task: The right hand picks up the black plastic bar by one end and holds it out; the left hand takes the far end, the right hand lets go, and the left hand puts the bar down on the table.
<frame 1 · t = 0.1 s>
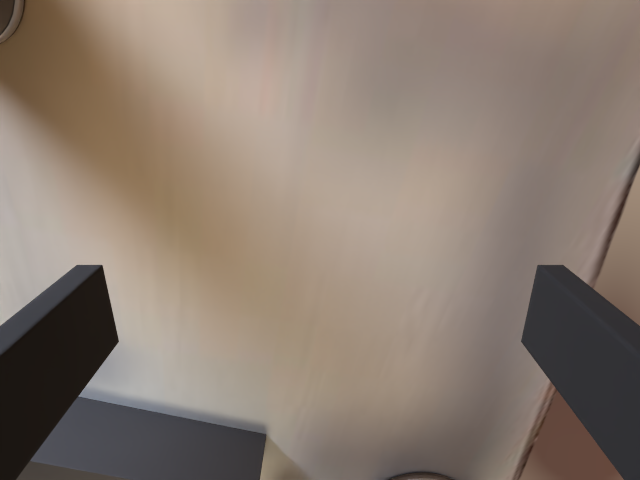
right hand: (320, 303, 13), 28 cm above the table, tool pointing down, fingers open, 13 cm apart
bar: (157, 426, 52), on the table
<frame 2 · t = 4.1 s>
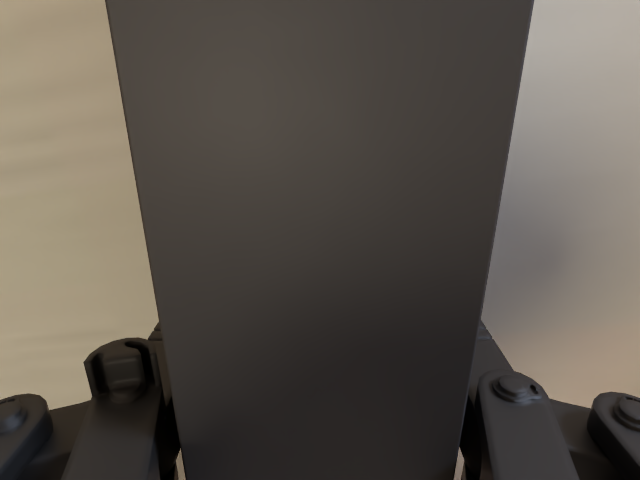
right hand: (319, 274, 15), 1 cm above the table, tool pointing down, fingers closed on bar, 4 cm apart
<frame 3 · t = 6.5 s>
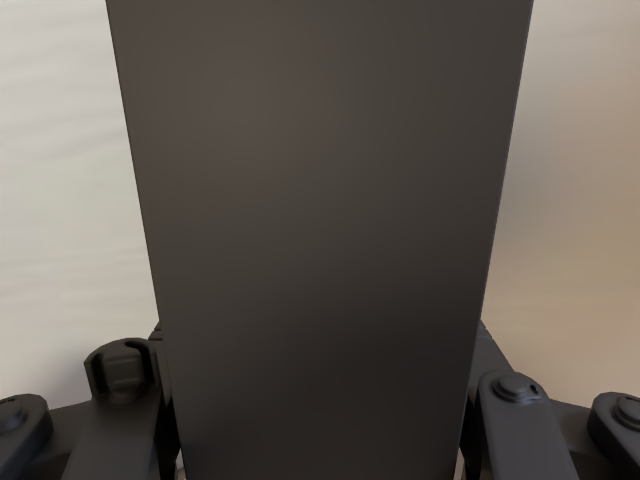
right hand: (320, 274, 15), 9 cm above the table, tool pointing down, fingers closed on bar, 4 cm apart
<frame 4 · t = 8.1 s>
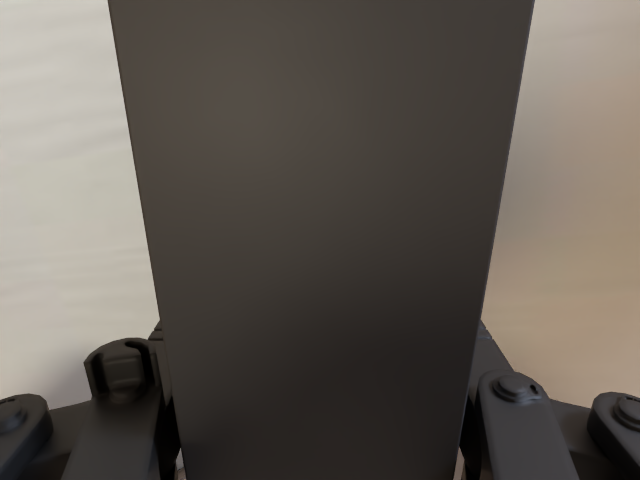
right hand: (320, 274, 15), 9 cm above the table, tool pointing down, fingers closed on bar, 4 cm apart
when the right hand's fingers open (9 cm above the table, at t = 8.9 s): bar stays where it is, held by the left hand.
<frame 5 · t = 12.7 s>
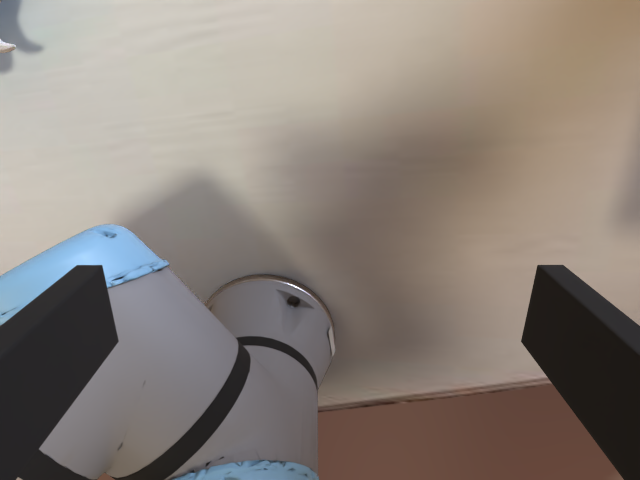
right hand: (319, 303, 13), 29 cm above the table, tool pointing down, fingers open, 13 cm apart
when the left hand's fingers open (6 cm above the table, at t = 17.3 s): bar drops 1 cm, on the table.
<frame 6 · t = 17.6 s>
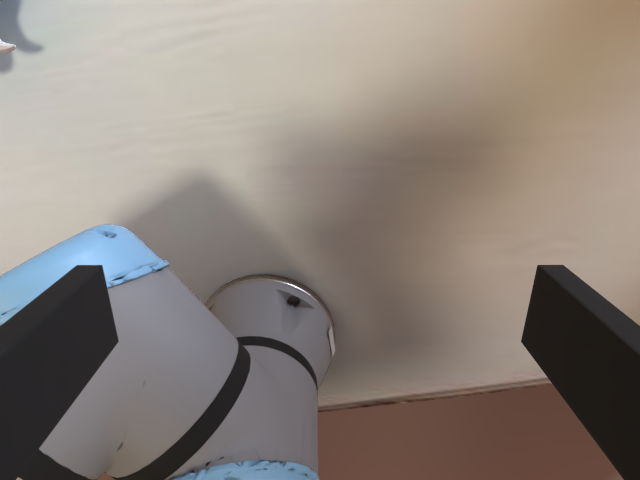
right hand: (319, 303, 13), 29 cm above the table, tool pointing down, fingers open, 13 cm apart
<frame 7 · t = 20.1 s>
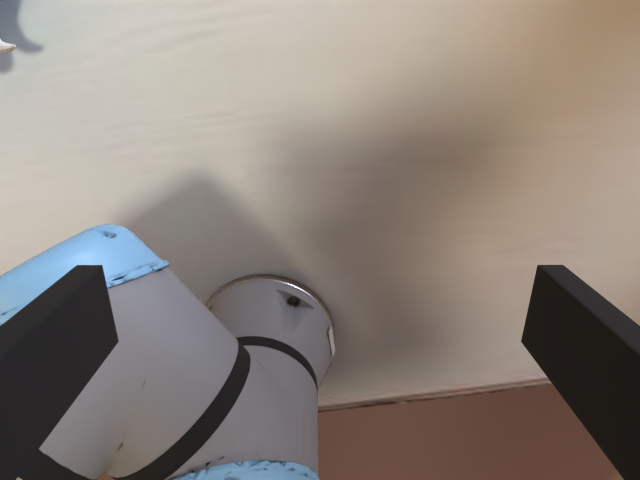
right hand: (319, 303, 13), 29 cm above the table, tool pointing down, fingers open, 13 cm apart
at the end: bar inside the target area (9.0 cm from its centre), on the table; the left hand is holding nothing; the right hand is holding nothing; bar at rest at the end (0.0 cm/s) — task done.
